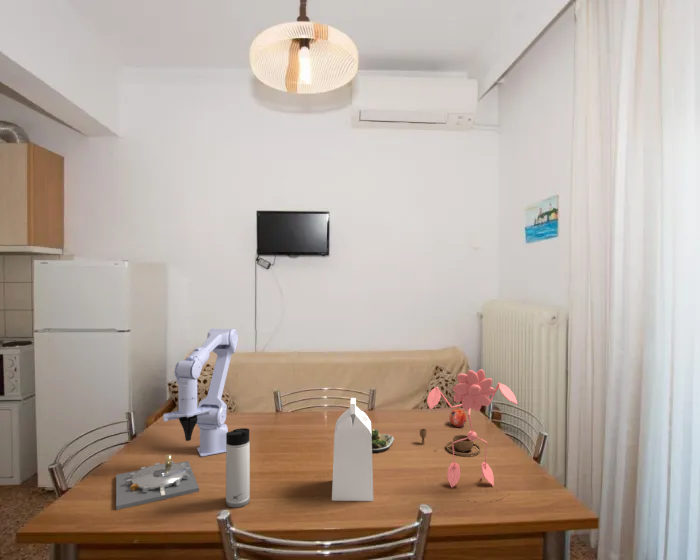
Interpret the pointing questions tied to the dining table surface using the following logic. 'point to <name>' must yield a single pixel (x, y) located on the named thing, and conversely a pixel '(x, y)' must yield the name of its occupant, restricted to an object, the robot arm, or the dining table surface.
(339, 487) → the milk
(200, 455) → the robot arm
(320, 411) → the dining table surface
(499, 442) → the dining table surface
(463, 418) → the pomegranate
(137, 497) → the timing board
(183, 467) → the sprocket
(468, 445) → the place setting
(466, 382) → the figurine
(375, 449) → the salad plate
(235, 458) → the travel mug
